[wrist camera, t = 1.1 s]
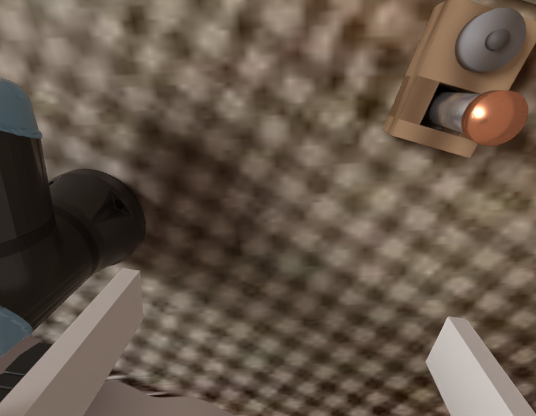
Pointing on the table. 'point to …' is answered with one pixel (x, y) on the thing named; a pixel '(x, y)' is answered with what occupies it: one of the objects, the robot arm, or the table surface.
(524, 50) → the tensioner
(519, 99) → the pin
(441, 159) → the table surface
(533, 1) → the tray
